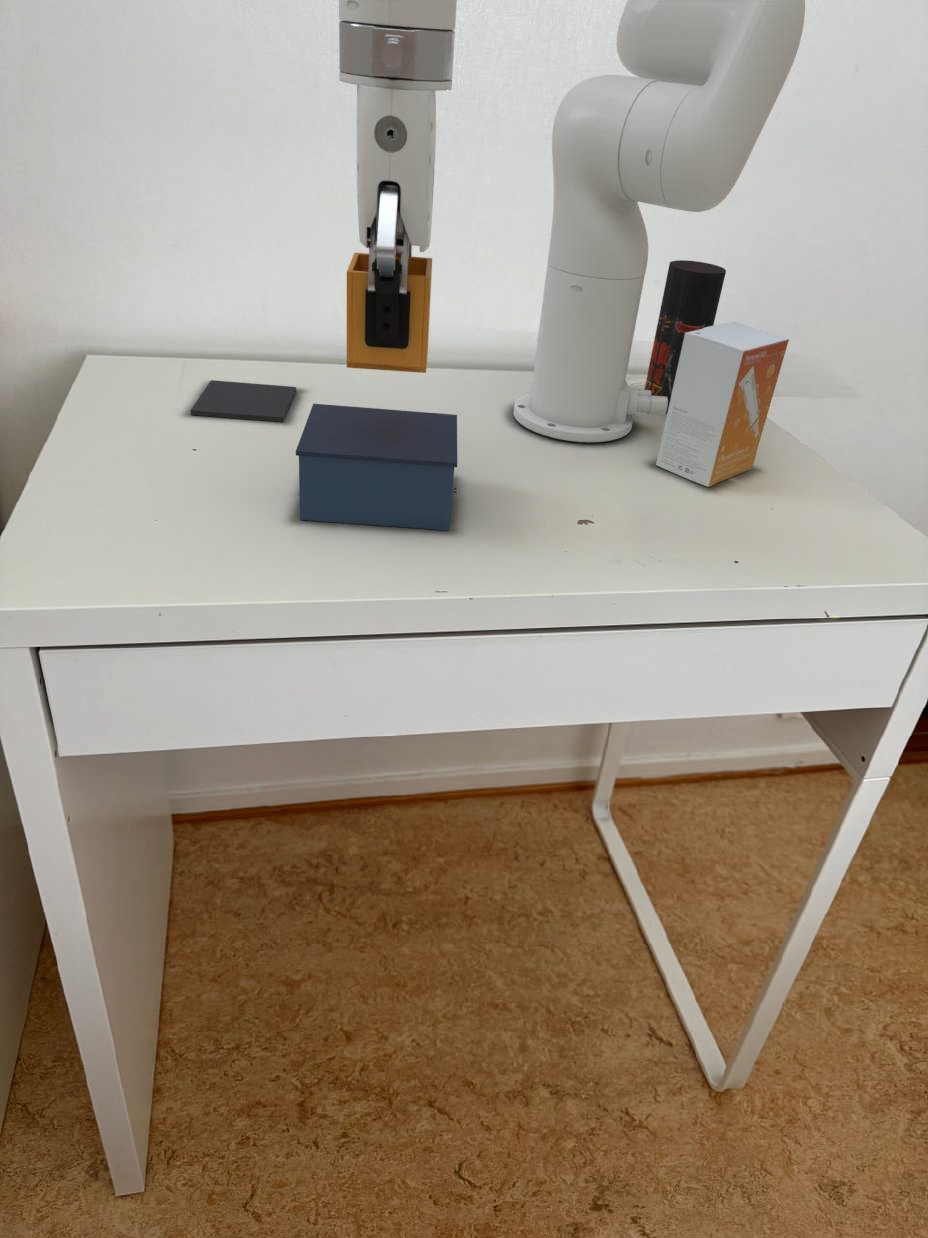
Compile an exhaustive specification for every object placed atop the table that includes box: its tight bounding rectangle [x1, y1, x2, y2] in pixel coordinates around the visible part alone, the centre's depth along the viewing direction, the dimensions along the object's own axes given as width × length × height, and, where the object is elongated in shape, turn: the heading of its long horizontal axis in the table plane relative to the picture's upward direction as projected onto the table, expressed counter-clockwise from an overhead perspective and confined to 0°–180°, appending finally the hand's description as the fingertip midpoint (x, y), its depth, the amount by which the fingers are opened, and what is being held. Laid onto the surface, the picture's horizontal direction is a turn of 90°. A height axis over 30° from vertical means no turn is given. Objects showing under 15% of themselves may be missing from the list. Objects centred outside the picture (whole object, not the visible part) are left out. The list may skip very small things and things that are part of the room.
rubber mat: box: [190, 379, 297, 423], centre depth 93 cm, size 9×9×1 cm
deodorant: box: [643, 259, 727, 413], centre depth 100 cm, size 6×6×15 cm
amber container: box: [346, 252, 433, 374], centre depth 69 cm, size 6×6×7 cm
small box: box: [655, 321, 790, 488], centre depth 86 cm, size 8×6×13 cm
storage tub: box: [295, 403, 458, 531], centre depth 76 cm, size 12×10×6 cm
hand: (389, 330), depth 70 cm, fingers closed on amber container, 6 cm apart
